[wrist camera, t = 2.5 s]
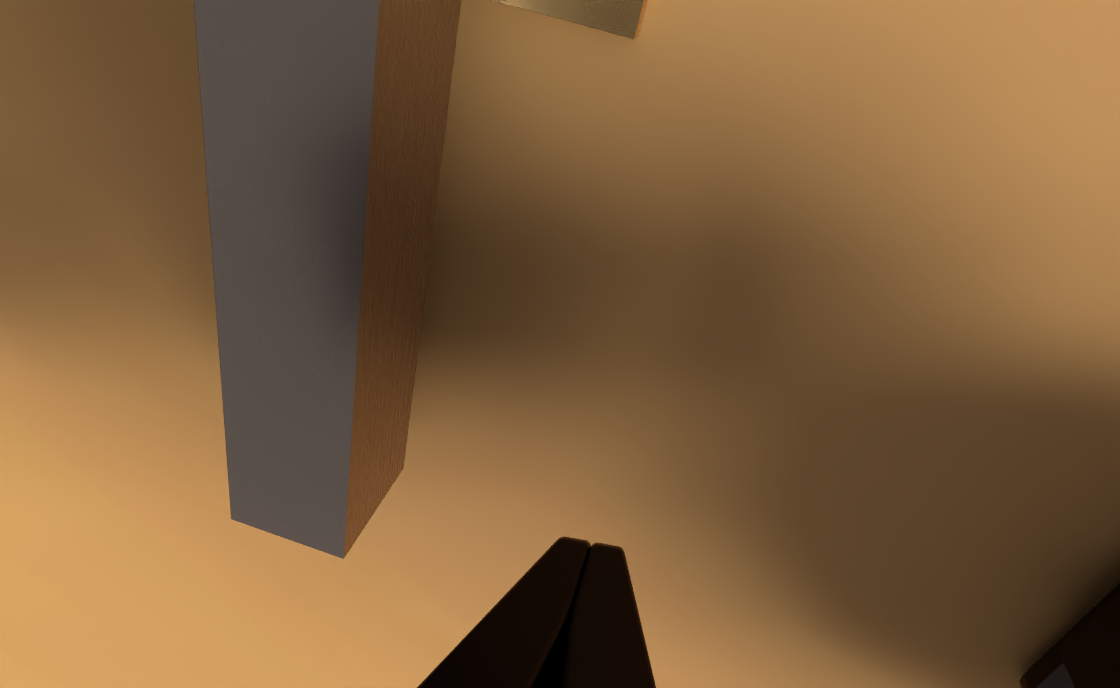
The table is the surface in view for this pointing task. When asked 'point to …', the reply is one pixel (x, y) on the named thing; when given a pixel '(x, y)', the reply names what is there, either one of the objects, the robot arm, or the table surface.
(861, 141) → the table surface
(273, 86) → the lock bar
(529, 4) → the plate
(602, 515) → the table surface
